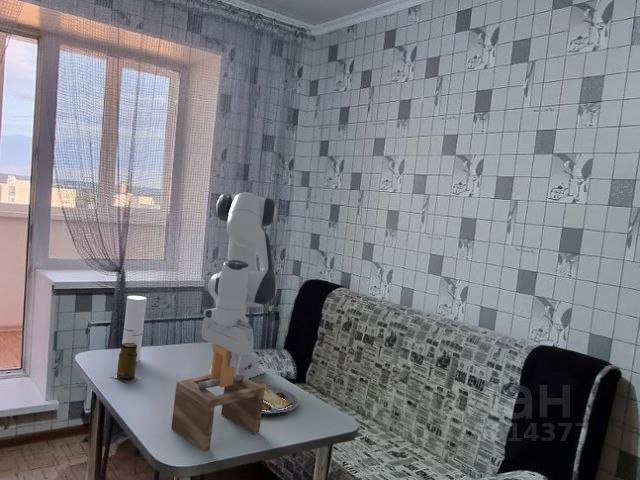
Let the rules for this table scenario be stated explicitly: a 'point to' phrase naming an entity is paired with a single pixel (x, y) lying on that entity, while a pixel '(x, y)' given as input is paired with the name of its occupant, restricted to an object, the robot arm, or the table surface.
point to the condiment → (127, 363)
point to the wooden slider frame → (199, 406)
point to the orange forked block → (222, 367)
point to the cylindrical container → (134, 321)
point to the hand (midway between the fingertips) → (224, 362)
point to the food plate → (277, 399)
